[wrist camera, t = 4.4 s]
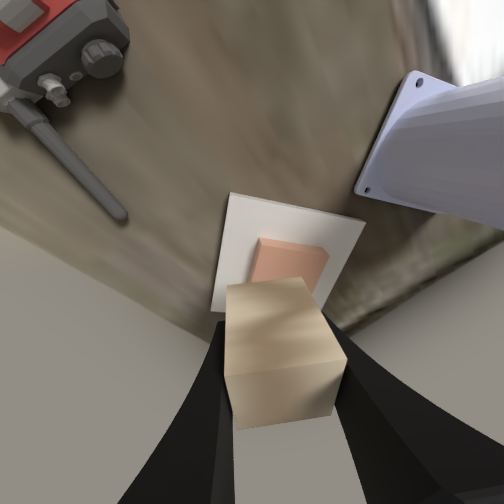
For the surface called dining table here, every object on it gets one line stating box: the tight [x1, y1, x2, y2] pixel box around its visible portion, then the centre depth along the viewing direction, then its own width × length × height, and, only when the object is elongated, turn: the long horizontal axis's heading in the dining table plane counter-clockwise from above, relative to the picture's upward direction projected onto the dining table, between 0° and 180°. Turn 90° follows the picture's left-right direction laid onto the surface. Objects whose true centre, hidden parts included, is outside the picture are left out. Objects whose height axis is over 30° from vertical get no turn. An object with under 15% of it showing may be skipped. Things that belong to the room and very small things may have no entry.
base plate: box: [211, 192, 366, 313], centre depth 18 cm, size 12×12×2 cm
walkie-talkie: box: [0, 0, 130, 220], centre depth 9 cm, size 9×4×20 cm
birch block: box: [224, 277, 347, 430], centre depth 10 cm, size 4×4×5 cm
